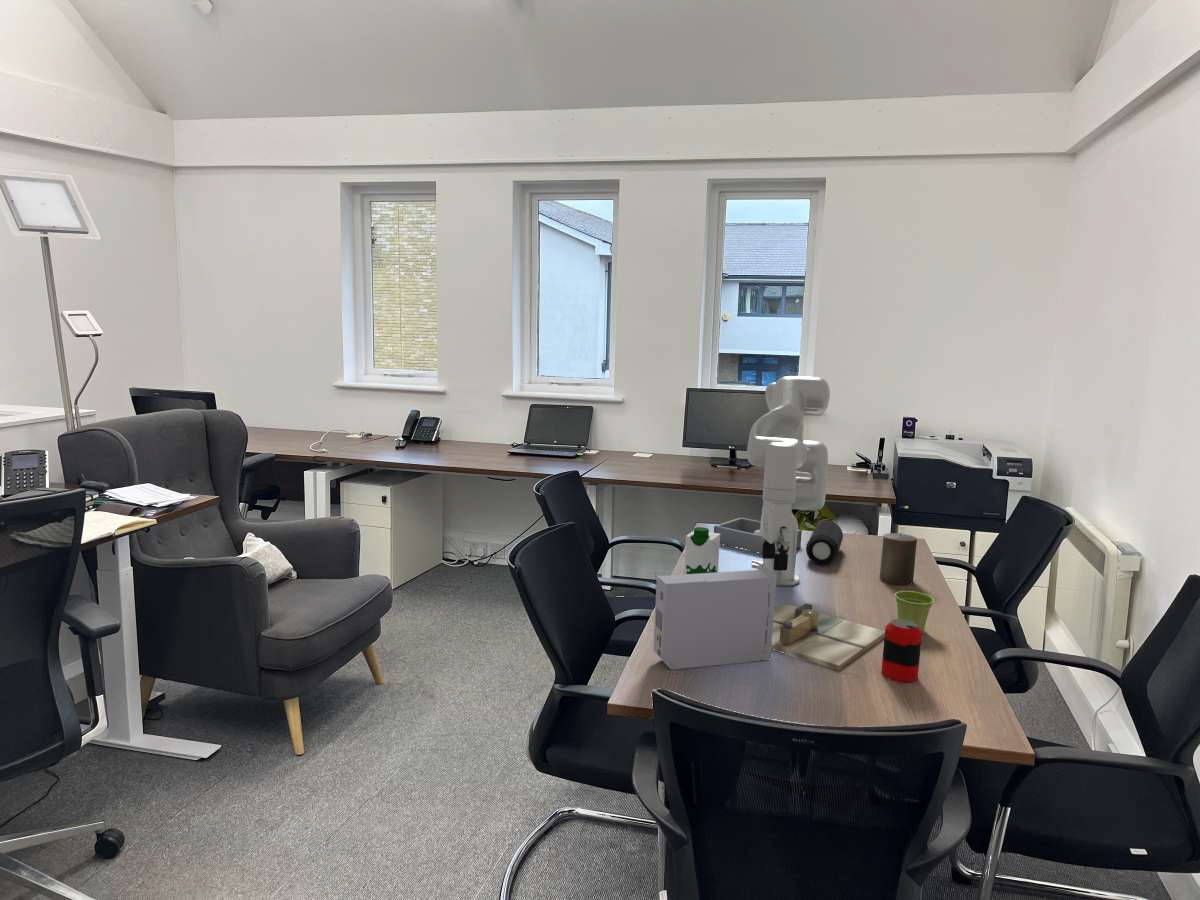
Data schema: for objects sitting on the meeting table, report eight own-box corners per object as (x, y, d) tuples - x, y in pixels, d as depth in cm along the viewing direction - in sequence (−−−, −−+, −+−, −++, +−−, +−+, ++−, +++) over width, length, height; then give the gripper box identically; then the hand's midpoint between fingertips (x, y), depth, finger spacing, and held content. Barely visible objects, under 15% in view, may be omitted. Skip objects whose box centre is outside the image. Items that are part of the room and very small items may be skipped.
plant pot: (929, 626, 210) (933, 593, 209) (931, 639, 202) (935, 605, 200) (891, 620, 213) (894, 588, 212) (891, 633, 205) (894, 600, 203)
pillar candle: (913, 587, 241) (918, 538, 239) (878, 582, 245) (883, 534, 242) (912, 578, 251) (917, 530, 248) (878, 574, 254) (883, 527, 251)
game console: (774, 660, 186) (780, 576, 182) (662, 671, 178) (666, 584, 175) (762, 650, 191) (767, 568, 188) (652, 661, 183) (656, 575, 180)
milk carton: (679, 599, 224) (683, 528, 221) (690, 589, 233) (693, 521, 229) (710, 604, 221) (714, 533, 218) (720, 595, 229) (724, 525, 226)
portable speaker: (812, 545, 284) (815, 517, 283) (842, 549, 281) (844, 520, 279) (804, 565, 261) (806, 534, 259) (836, 569, 257) (838, 538, 256)
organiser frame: (713, 542, 283) (714, 526, 282) (739, 533, 297) (740, 517, 296) (775, 557, 268) (776, 539, 267) (800, 546, 282) (801, 529, 281)
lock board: (729, 636, 199) (730, 620, 198) (783, 607, 220) (784, 593, 220) (838, 670, 181) (839, 653, 181) (886, 635, 203) (887, 620, 202)
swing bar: (805, 624, 203) (806, 605, 202) (820, 628, 201) (821, 609, 200) (776, 641, 192) (777, 621, 191) (791, 645, 189) (793, 626, 188)
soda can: (898, 685, 175) (903, 632, 173) (873, 671, 182) (878, 619, 180) (925, 680, 178) (930, 627, 176) (899, 666, 185) (904, 615, 183)
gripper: (753, 486, 202) (749, 553, 205) (774, 502, 185) (769, 575, 188) (783, 487, 203) (778, 554, 206) (806, 502, 186) (801, 575, 189)
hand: (774, 564), depth 197 cm, fingers open, 9 cm apart
